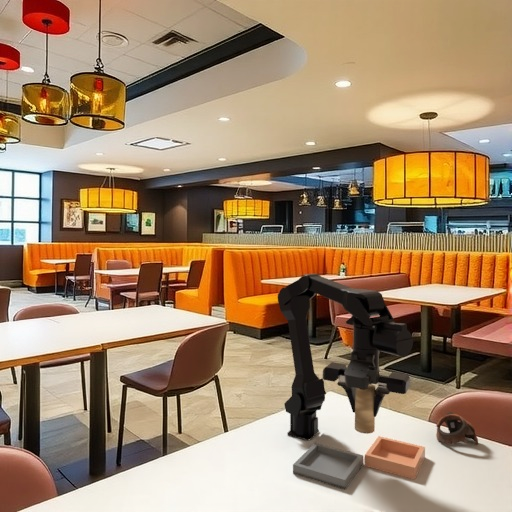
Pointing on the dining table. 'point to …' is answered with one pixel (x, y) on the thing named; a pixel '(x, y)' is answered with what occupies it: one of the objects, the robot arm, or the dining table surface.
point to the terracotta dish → (395, 457)
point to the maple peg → (365, 409)
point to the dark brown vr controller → (455, 429)
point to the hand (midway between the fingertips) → (364, 414)
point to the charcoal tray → (328, 465)
